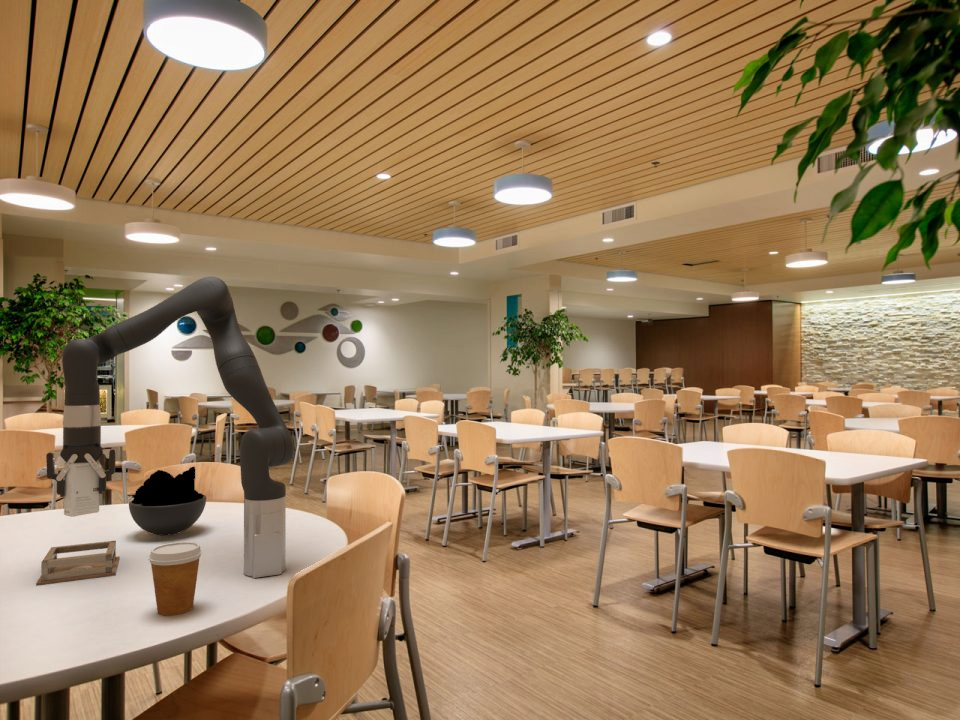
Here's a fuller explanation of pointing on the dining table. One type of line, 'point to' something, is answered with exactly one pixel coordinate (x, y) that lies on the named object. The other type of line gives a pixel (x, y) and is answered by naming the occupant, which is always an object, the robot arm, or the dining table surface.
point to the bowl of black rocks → (167, 503)
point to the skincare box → (81, 490)
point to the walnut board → (81, 566)
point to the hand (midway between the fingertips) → (81, 494)
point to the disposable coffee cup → (175, 576)
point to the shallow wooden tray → (78, 560)
